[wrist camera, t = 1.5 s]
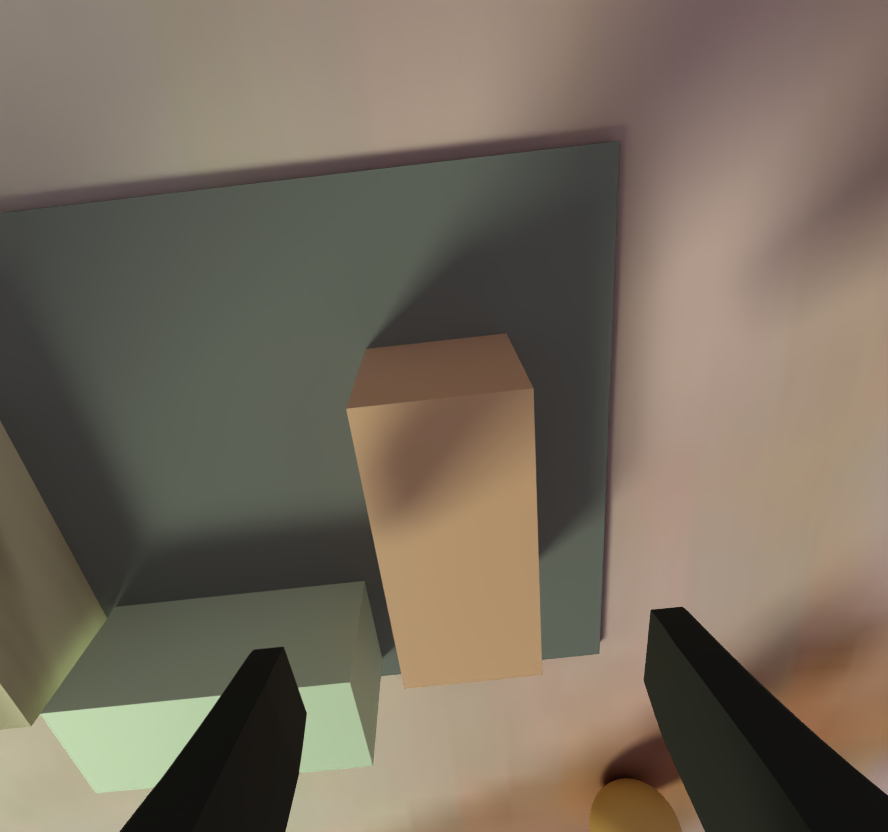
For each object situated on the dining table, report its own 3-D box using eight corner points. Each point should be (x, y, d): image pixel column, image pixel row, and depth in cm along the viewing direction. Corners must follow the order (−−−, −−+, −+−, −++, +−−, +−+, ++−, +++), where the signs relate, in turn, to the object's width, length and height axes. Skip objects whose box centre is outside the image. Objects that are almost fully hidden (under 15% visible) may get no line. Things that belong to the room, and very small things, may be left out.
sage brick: (154, 681, 20) (95, 793, 17) (115, 606, 18) (40, 713, 15) (382, 658, 20) (372, 765, 16) (364, 580, 18) (349, 682, 15)
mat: (-37, 709, 21) (-45, 719, 21) (-395, 259, 13) (-419, 261, 13) (596, 645, 21) (599, 653, 20) (614, 141, 13) (620, 140, 12)
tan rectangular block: (408, 587, 18) (404, 688, 15) (365, 349, 15) (346, 408, 11) (519, 575, 18) (542, 674, 15) (506, 333, 14) (533, 388, 11)
